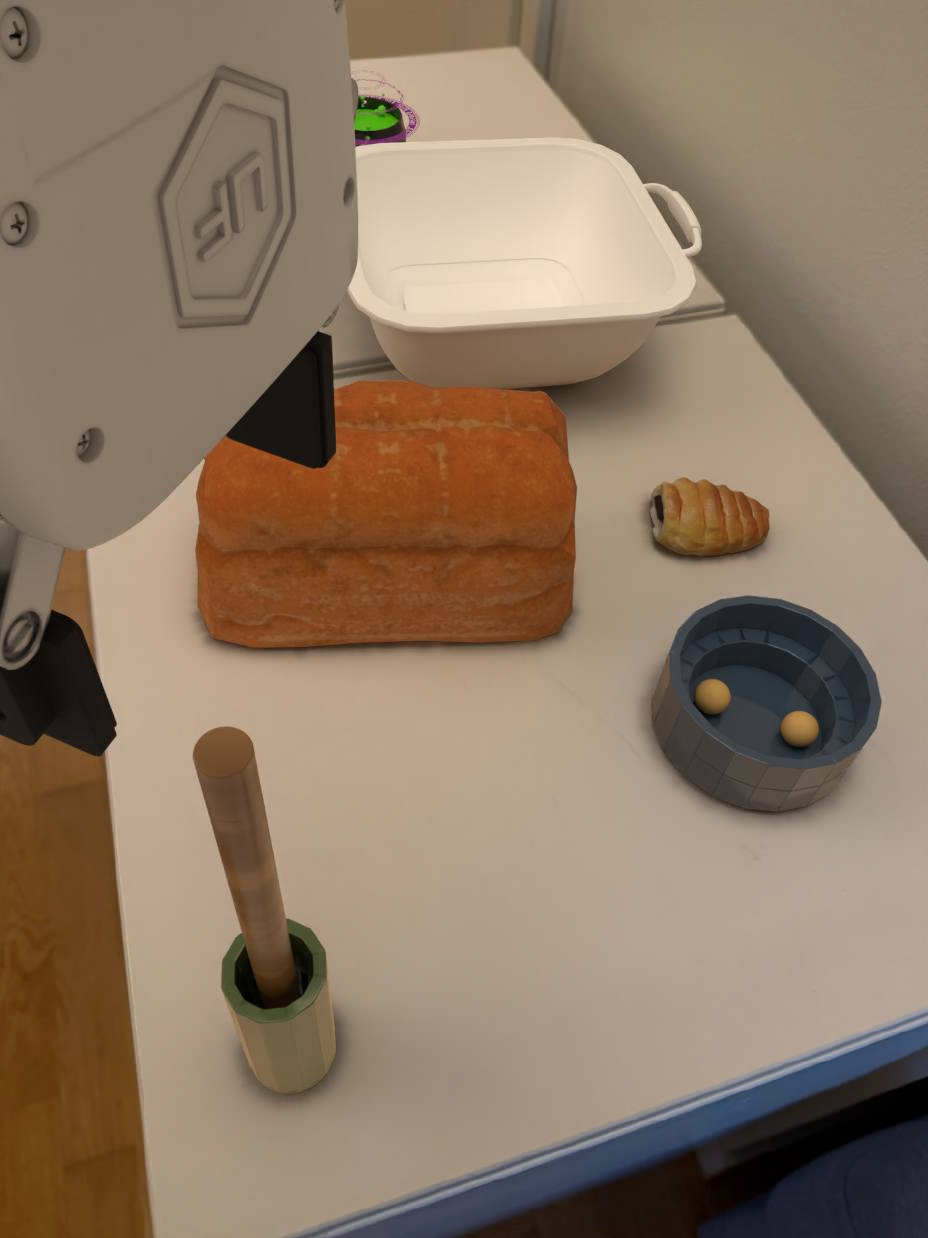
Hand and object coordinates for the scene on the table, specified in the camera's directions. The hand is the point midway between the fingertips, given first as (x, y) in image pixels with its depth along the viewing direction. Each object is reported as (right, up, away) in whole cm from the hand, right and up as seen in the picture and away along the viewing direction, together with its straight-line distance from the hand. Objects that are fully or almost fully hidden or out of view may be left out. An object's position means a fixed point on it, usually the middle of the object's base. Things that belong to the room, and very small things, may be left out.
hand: (178, 568), depth 24 cm
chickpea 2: (+29, -9, +42) cm, 52 cm away
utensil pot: (-2, -24, +30) cm, 38 cm away
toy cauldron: (-4, +47, +86) cm, 98 cm away
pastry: (+26, +6, +56) cm, 62 cm away
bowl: (+26, -9, +44) cm, 52 cm away
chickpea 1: (+24, -6, +44) cm, 50 cm away
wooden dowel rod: (-2, -24, +29) cm, 38 cm away
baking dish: (+9, +25, +70) cm, 75 cm away
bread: (+1, +2, +51) cm, 51 cm away
